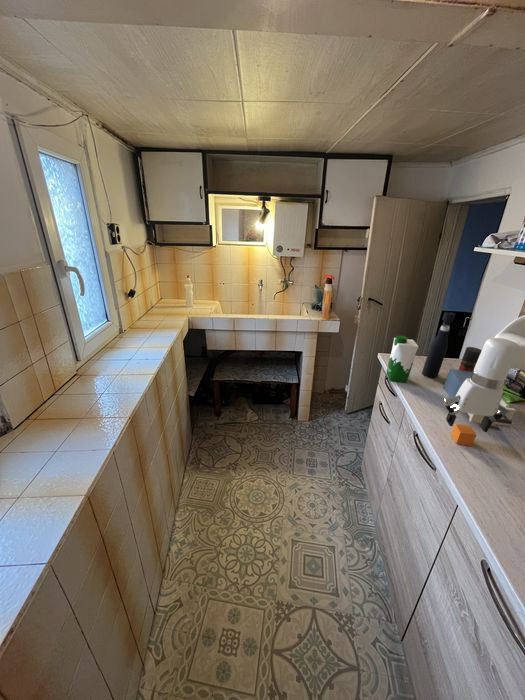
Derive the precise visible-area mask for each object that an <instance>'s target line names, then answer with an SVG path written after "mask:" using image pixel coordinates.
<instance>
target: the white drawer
mask: <svg viewBox="0 0 525 700" xmlns="http://www.w3.org/2000/svg"><path fill="white" fill-rule="evenodd" d="M500 405H502V406H503V407H505V408H506V409H507V410H508V411H509V412H508V413H507V414H505V415H503V417H502V418H500V419H497V420H496V421H495V422H492V424H491V426H493V427H497V426H506V427H509V425H512V424H513V421H512V419H513V417H514V415H515V413H516V411H517V410H516V409H515V408H513V407H510V406H509V404H508V403H507V402H506V401H505V400H504V399H503V397H502V398H501V402H500ZM498 411H499V409H497V411H496V412H498ZM466 414H467V415H468V417H469V419H468V421H469V423H474V424H475V423H476V424H481V422H482V420H483V418H484V416H483V415H477V414H471V413H466Z"/></svg>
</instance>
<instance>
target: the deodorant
mask: <svg viewBox="0 0 525 700" xmlns="http://www.w3.org/2000/svg"><path fill="white" fill-rule="evenodd" d="M481 351H482V349H480V348H479V347H474V346H467V347H466V348H465V350H464V353H463V356H462V358H461V361H460V363H459V366H458V369H457V370H463V371H471V372H473V370H474V368H475V366H476V363H477V361H478V358H479V356H480V354H481Z"/></svg>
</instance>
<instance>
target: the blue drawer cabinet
mask: <svg viewBox="0 0 525 700" xmlns="http://www.w3.org/2000/svg"><path fill="white" fill-rule="evenodd" d="M472 373H473V372H471V371H463V370H458V369H454V368H449V371H448V374H447V375H446V376H447V377H446V379H445V382H444V385H443V389H444V391H445V393H447V395H448V396H449V398H450V397H455V396H456V394H457V392H458V390H459V389H460V387H461V385H462V384H463V383H464V381H465V380H466V379H467V378H471V375H472ZM504 395H505V393H504V392H503V394H502V398H503V397H504Z"/></svg>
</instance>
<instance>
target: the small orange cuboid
mask: <svg viewBox="0 0 525 700" xmlns="http://www.w3.org/2000/svg"><path fill="white" fill-rule="evenodd" d="M450 436H451V437H452V439H453V441H454V442H455V444H456V445H463V446H468V447H472V446H473V444H474V442H475V440H476V438H477V436H478V435H477V433H476V432H475V431H474V429H473V428H472V426H471V425H466V424H461V423H454V424H453V428H452V430H451V433H450Z"/></svg>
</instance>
